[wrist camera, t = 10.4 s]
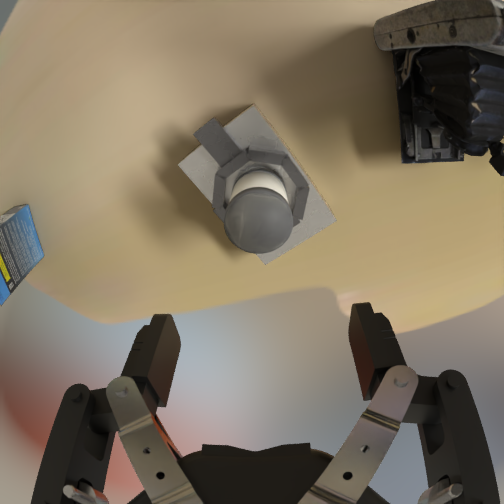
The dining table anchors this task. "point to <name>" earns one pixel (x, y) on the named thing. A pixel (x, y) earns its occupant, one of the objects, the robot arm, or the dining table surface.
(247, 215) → the cream grey cylinder
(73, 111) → the dining table surface
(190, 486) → the robot arm
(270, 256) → the octagonal ring slab
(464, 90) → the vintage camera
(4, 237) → the blue printed box
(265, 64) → the dining table surface
